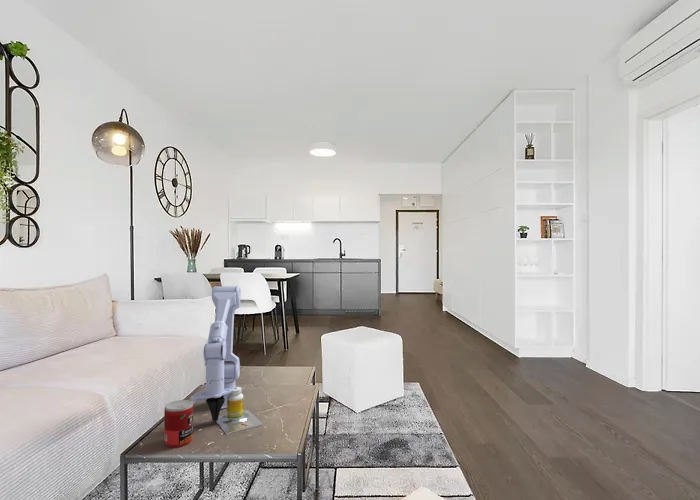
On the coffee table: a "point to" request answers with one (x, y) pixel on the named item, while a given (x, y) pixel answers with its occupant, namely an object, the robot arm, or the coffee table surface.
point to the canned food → (178, 423)
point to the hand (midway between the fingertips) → (214, 420)
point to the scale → (238, 422)
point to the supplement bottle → (235, 404)
